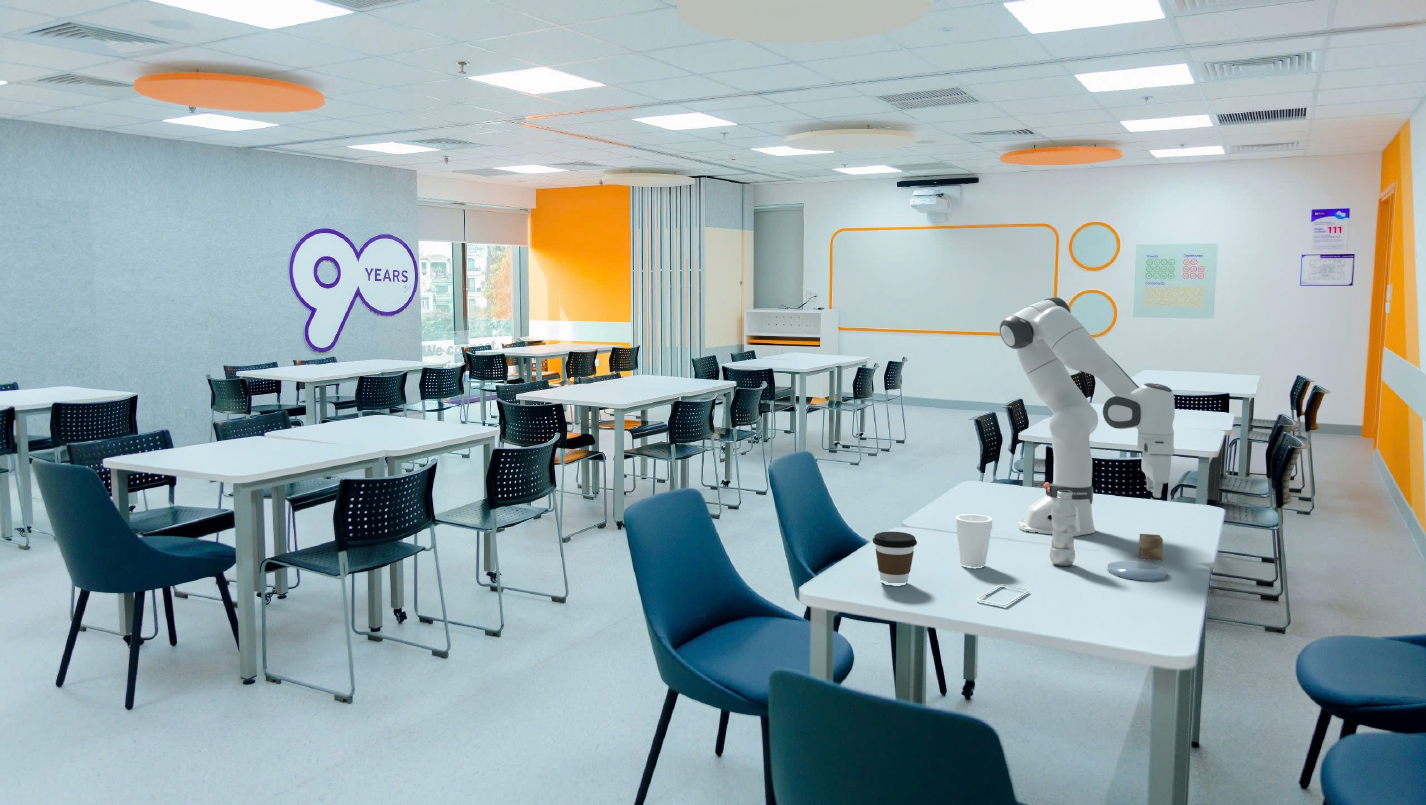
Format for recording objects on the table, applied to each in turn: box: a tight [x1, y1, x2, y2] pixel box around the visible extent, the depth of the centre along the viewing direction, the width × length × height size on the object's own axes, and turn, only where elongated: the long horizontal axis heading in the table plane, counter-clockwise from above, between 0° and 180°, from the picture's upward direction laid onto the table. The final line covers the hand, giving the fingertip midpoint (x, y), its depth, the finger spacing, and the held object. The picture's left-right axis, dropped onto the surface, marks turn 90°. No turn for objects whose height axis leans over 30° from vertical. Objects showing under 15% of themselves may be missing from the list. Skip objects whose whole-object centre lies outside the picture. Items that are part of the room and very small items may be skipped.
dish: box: [1107, 560, 1168, 582], centre depth 240 cm, size 14×14×1 cm
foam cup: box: [955, 513, 993, 567], centre depth 247 cm, size 10×9×13 cm
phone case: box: [975, 584, 1030, 606], centre depth 221 cm, size 7×1×15 cm
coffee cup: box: [872, 531, 918, 583], centre depth 232 cm, size 11×11×12 cm
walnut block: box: [1138, 533, 1164, 561], centre depth 255 cm, size 5×5×6 cm
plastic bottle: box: [1048, 490, 1077, 567], centre depth 247 cm, size 6×7×20 cm
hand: (1153, 493), depth 253 cm, fingers open, 8 cm apart
